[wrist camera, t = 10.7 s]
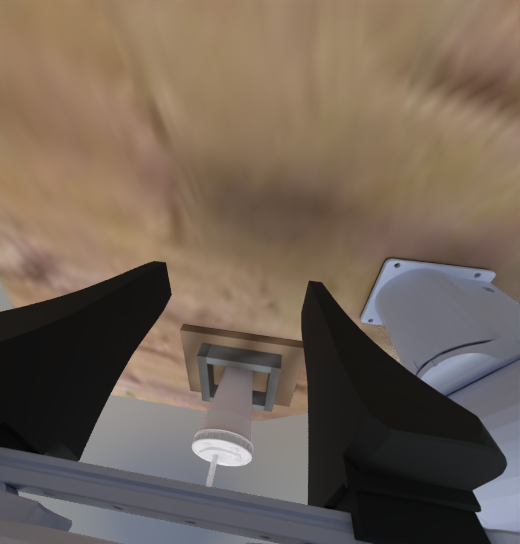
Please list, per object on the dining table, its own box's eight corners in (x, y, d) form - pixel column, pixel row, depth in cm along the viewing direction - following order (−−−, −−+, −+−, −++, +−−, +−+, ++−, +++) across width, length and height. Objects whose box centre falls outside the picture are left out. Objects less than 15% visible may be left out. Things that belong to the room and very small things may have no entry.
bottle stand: (305, 342, 27) (307, 363, 25) (289, 400, 35) (289, 420, 32) (183, 324, 28) (172, 342, 26) (192, 384, 36) (185, 403, 33)
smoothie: (213, 352, 29) (161, 500, 17) (260, 354, 28) (239, 512, 16) (221, 380, 32) (182, 520, 20) (264, 383, 31) (248, 532, 20)
